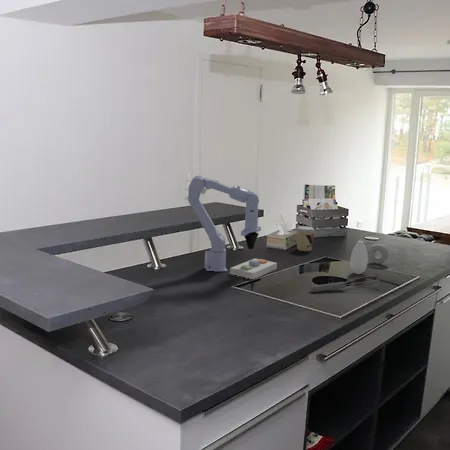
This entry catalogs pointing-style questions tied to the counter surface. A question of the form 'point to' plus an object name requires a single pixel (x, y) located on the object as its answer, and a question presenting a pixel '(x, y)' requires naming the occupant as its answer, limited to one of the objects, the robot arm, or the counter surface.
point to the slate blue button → (254, 263)
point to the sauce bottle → (359, 258)
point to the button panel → (253, 269)
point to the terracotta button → (262, 261)
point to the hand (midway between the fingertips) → (250, 248)
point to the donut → (383, 251)
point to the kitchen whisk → (336, 285)
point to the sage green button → (246, 267)
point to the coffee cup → (305, 238)
